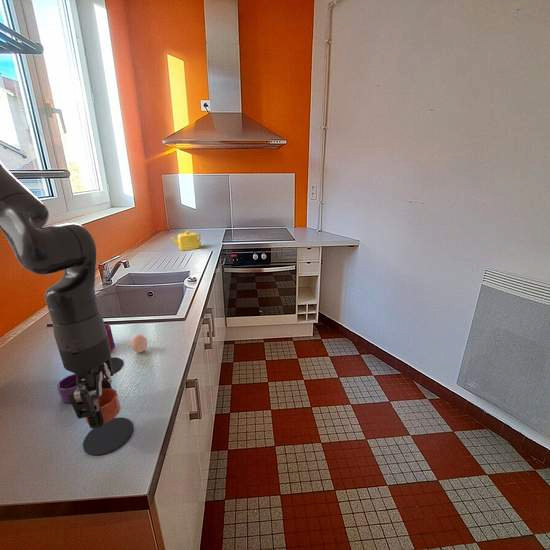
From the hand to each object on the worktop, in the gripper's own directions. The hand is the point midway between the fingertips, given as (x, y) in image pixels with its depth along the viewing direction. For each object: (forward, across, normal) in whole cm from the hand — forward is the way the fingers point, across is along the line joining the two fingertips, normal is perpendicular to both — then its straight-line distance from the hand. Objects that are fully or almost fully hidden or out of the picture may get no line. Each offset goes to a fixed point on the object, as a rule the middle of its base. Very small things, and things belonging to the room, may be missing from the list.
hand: (103, 412), depth 59 cm
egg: (+6, -31, 0) cm, 32 cm away
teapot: (+6, -161, +6) cm, 161 cm away
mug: (+6, -37, -12) cm, 39 cm away
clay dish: (+1, 0, 0) cm, 1 cm away
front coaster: (+6, 0, 0) cm, 6 cm away
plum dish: (+6, -15, -12) cm, 20 cm away
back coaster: (+6, -25, -8) cm, 27 cm away
